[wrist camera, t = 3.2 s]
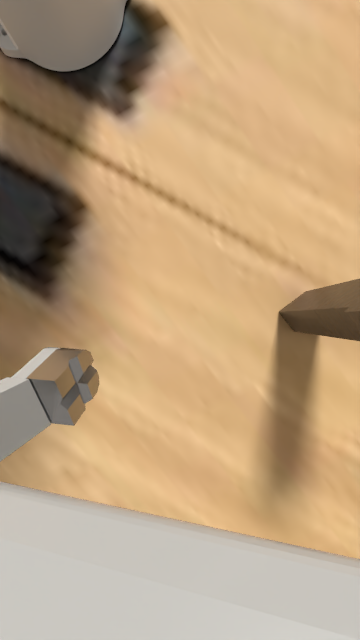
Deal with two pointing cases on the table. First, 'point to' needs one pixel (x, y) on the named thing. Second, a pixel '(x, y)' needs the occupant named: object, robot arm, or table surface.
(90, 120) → the table surface
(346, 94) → the table surface
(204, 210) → the table surface
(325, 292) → the tall dark grey post
